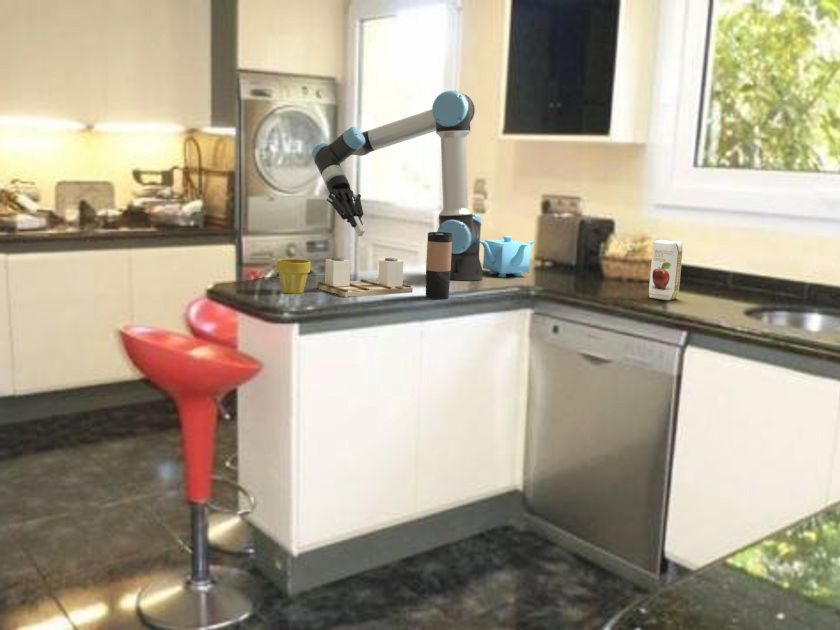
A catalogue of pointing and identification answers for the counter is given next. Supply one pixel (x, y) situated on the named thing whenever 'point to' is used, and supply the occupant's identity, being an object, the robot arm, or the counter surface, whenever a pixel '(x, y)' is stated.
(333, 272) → the button
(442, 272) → the travel mug
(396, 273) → the button
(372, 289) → the wooden tray
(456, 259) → the robot arm
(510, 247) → the teakettle
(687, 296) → the counter surface
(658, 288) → the juice carton
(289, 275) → the plant pot
